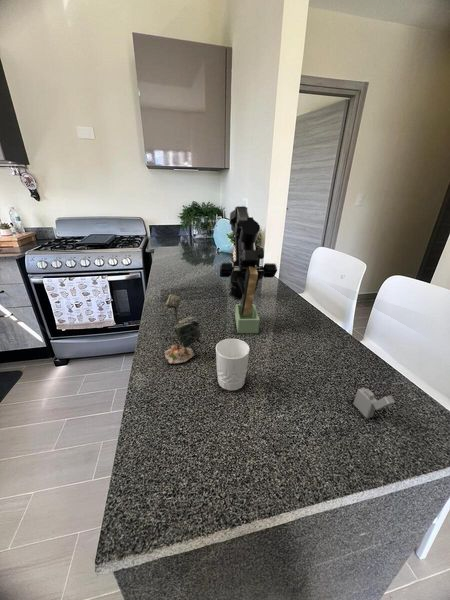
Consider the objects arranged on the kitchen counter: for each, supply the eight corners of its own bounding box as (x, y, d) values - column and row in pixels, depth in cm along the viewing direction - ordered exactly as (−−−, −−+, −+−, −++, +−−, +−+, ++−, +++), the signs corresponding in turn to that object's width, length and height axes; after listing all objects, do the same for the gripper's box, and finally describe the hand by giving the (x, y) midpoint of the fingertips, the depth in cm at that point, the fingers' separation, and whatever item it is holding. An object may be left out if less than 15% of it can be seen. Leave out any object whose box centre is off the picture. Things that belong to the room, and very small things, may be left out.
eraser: (241, 314, 83) (248, 273, 76) (240, 305, 88) (246, 266, 81) (250, 315, 83) (258, 274, 76) (248, 306, 88) (256, 267, 81)
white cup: (250, 374, 65) (253, 342, 60) (242, 396, 58) (244, 362, 54) (221, 367, 67) (222, 335, 63) (210, 387, 60) (210, 354, 56)
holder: (235, 316, 93) (235, 304, 90) (253, 316, 93) (254, 304, 91) (237, 333, 82) (238, 319, 80) (258, 333, 82) (259, 319, 80)
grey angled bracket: (352, 403, 57) (361, 376, 53) (359, 401, 57) (368, 374, 54) (377, 430, 51) (389, 401, 47) (384, 428, 51) (396, 399, 48)
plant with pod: (205, 361, 69) (204, 295, 60) (163, 366, 67) (156, 298, 58) (201, 344, 76) (199, 283, 68) (163, 348, 74) (156, 285, 65)
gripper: (220, 238, 78) (220, 284, 73) (279, 239, 79) (283, 284, 74) (219, 256, 89) (219, 297, 84) (271, 256, 90) (275, 297, 84)
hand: (248, 294), depth 81 cm, fingers closed on eraser, 3 cm apart
